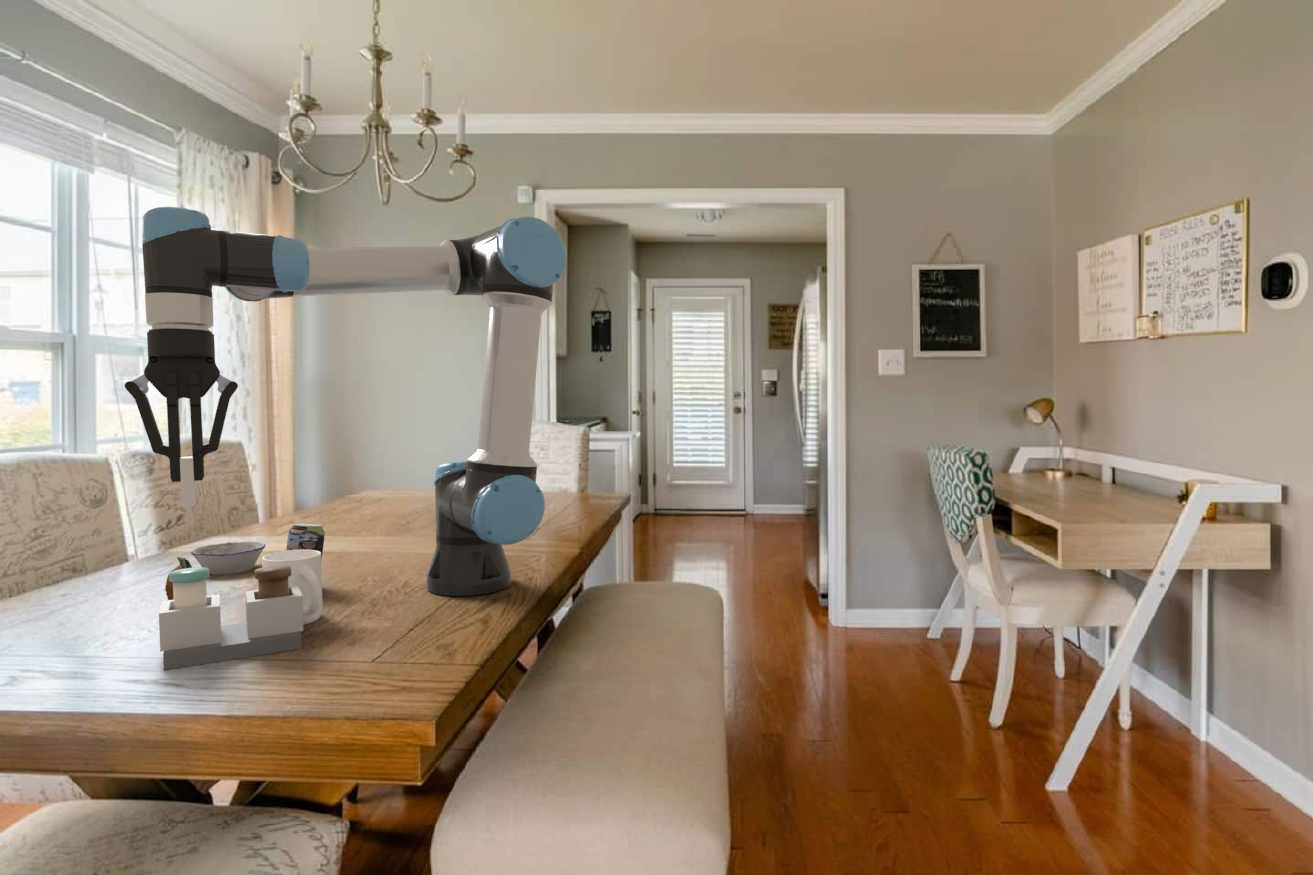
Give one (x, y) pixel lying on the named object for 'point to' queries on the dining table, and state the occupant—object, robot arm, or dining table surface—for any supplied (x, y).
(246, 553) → the bowl
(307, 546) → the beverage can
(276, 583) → the walnut plug
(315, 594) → the mug
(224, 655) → the white plug holder
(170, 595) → the rock
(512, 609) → the dining table surface
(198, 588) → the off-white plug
